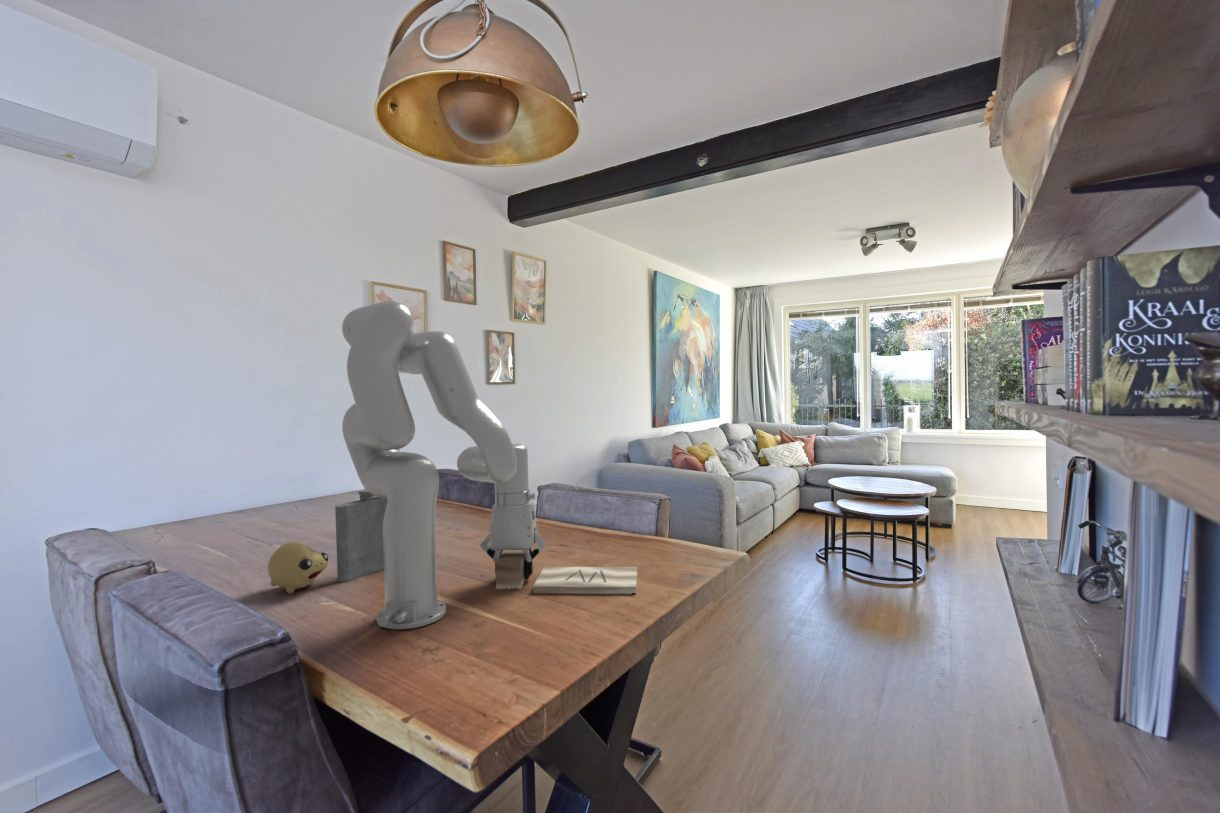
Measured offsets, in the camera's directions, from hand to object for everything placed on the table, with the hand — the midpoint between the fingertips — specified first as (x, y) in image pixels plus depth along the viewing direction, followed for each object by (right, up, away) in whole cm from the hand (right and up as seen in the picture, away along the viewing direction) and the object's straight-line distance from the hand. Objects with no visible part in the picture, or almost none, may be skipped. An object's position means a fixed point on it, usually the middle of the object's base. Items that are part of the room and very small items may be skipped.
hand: (514, 576), depth 125 cm
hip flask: (-37, -2, +8) cm, 38 cm away
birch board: (+17, -1, -2) cm, 17 cm away
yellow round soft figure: (-47, -2, -3) cm, 48 cm away
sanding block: (0, -1, 0) cm, 1 cm away
